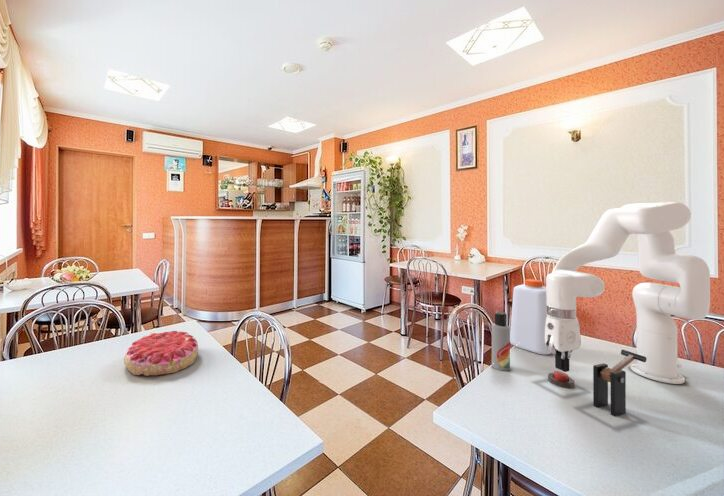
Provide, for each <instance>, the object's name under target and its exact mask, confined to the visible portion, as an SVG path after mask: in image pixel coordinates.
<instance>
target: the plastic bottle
mask: <svg viewBox="0 0 724 496" xmlns="http://www.w3.org/2000/svg"><path fill="white" fill-rule="evenodd" d="M546 318H547V301H546V286H544V285H543V281H542V280H540V279H534V278H526V279H525V280H524V283H522V284H519V285H516V286H514V287H513V290H512V305H511V317H510V345H512V346H513V347H516V348H518V349H521V350H525V351H527V352H531V353H534V354H539V355H548V356H549V355H551V354H552V353H549V352H548V347H547V346H546V344H545V324H546ZM519 342H520V343H519ZM518 343H519V344H518ZM516 344H518V345H517V346H515V345H516Z"/></svg>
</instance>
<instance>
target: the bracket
mask: <svg viewBox="0 0 724 496" xmlns="http://www.w3.org/2000/svg"><path fill="white" fill-rule="evenodd" d="M592 366H593V367H592V368H593V372H592V381H593V383H592V385H593V389H592V390H593V391H592V393H593V394H592V398H593V399H592V400H593V401H592V403H593V407H595V408H597V409H599V408H602V407H603V408H604V407H605V406H609V382H608V381H605V380H603V379H602V376H601V371H602V370H603V369H605V368H606V367H608V368H609V365H608V364H607V363H598V364H593V365H592ZM626 373H627V372H626V371H625V370H623V369H622V370H619V371H614V372H610V374H611V383H610V415H611V416H613V417H616V418H617V417H619V416H623V415H626V414H627V412H626V411H627V409H626V408H627V403H626V402H627V401H626V400H627V397H626V396H627V394H626V393H627V392H626V388H627V387H626V386H627V384H626V382H627V381H626V380H627V379H626V377H627V374H626Z"/></svg>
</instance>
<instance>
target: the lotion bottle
mask: <svg viewBox="0 0 724 496" xmlns="http://www.w3.org/2000/svg"><path fill="white" fill-rule="evenodd" d="M510 328H511V326H509V324H508V315H507V312H505V311H495V312H494V323H491V366H492V367H493V368H494V369H495V370H498V371H505V372H506V371H509V370H511V343H510ZM493 363H494V364H493ZM492 364H493V365H492Z"/></svg>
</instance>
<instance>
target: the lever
mask: <svg viewBox="0 0 724 496" xmlns="http://www.w3.org/2000/svg"><path fill="white" fill-rule="evenodd" d="M620 355H621V356H625V357H624V358H623V359H622V360H620V361H619V362H618V363H617V364H615V365H614V366H613V367H612V368H610V367H609V366H608V367H606V368H605V369H603V370H602V371H601V376H602V379H603V380H605V381H608V383H610V384H611V374H610V372H614V371H619V370H623V369H624V368H626V367H627V366H628V365H629V364H632V362H633V361H634V360H636V361H637V360H639V361H642V362H646V360H647V359H646V357H645V356H641V355H638V354H637V353H636V352H632V351H629V350H626V349H621V350H620Z"/></svg>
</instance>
